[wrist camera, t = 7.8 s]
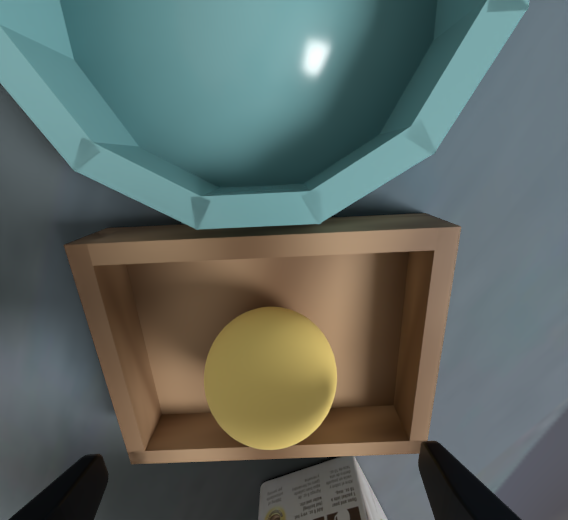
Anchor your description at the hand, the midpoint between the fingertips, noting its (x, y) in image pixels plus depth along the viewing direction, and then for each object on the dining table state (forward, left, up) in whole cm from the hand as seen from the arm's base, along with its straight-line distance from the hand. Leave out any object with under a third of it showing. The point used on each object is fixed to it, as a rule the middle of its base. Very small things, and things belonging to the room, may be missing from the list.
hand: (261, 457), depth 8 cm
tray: (0, 0, -6) cm, 6 cm away
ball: (0, 0, -3) cm, 3 cm away
